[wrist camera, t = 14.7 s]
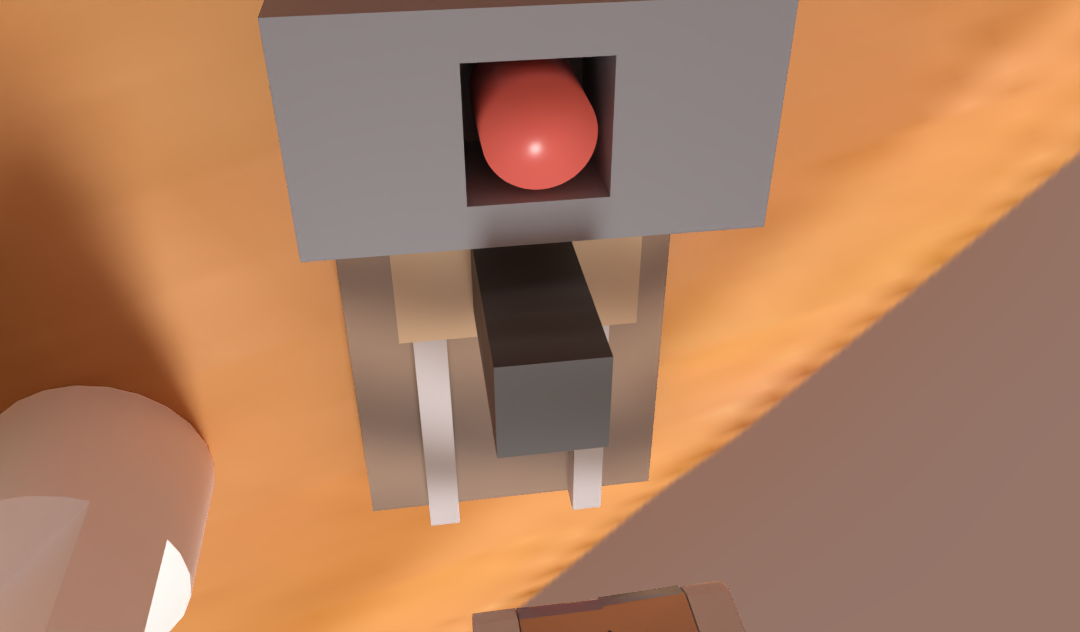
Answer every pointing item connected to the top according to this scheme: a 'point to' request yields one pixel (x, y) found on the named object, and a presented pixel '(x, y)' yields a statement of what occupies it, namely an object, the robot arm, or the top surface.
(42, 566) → the base with upright slab
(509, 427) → the carriage
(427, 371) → the rail board
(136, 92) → the top surface
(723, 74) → the end cabinet
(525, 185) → the button
